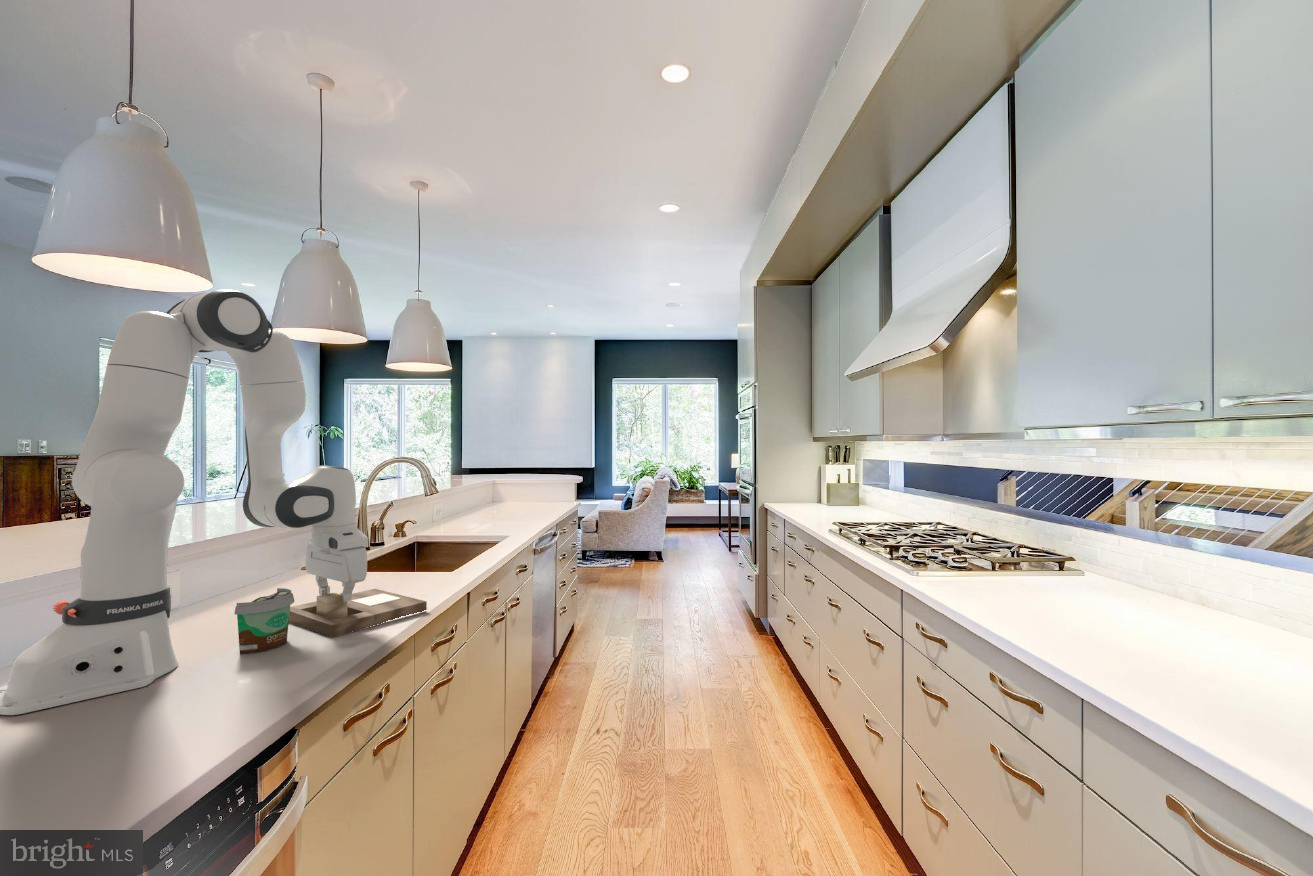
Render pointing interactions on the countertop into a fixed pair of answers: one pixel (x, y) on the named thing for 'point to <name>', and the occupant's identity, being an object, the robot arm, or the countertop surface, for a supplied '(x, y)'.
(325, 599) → the ash block
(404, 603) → the pocket board
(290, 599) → the food container
